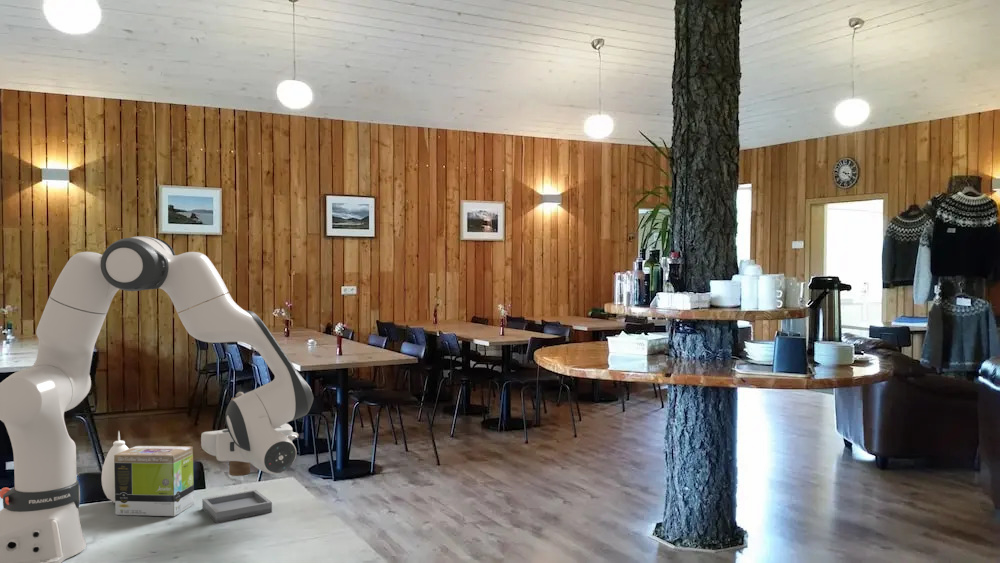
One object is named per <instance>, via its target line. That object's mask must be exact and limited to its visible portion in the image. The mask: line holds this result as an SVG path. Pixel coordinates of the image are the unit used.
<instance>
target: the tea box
mask: <svg viewBox="0 0 1000 563" xmlns="http://www.w3.org/2000/svg"><path fill="white" fill-rule="evenodd" d="M193 449H194V447H193V446H191V445H189V446H188V445H186V446H184V445H181V446H180V445H178V446H177V445H135V446H133V447H130V448H129V449H128V450H125V451H123V452H121V453H118V454H116V455H114V474H115V502H114V503H115V504H114V506H115V510H114V511H115V515H116V516H117V515H118V516H120V515H121V516H149V517H150V516H151V517H152V516H153V517H155V516H157V517H158V516H159V517H176V516H177V515H179V514H181V513H182V512H185V510H188V508H189V509H190V507H192V506H193V505H194V499H195V496H194V492H195V490H194V487H195V486H194V452H193V451H194V450H193Z"/></svg>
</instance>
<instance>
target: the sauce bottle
mask: <svg viewBox="0 0 1000 563" xmlns="http://www.w3.org/2000/svg"><path fill="white" fill-rule="evenodd" d="M112 444H113V445H112V446H111V447H110V449H109V450H108V452H107V454H106V457H105V459H104V461H103V462H104V463H103V466H102V469H101V486H102V490H103V493H104V495H105V497H106V498H107V499H108V500H111V502H113V503H115V474H114V455H116V454H118V453H121V452H123V451H125V450H128V449H130V448H129V447H128V446H127V445H126V441H125V440H121V434H120V430H118V431H117V440H115V441H113V443H112Z"/></svg>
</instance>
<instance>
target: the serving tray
mask: <svg viewBox="0 0 1000 563" xmlns="http://www.w3.org/2000/svg"><path fill="white" fill-rule="evenodd" d="M202 510H203V511H204V512H205V513H206V514H207V515H208V516H209V517H210V518H211V519H212V520H213V521H214V522H215V523H216V524H217V523H222V522H228V521H233V520H237V519H238V518H239V519H243V518H247V517H253V516H258V515H265V514H270V513H272V512H273V503H272V501H271V500H270V499H268V498H267V497H266V496H264V495H263V494H262V493H261V492H260V491H258V490H257V489H254V490H253V489H252V490H248V491H242V492H237V493H236V492H234V493H230V494H229V493H228V494H224V495H217V496H212V497H207V498H202ZM239 519H238V520H239Z"/></svg>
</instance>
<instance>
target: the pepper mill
mask: <svg viewBox="0 0 1000 563" xmlns="http://www.w3.org/2000/svg"><path fill="white" fill-rule="evenodd" d="M243 394H245V393H244V391H238V392H237V393H236V394H235V397H231V400H233V399H235V398H237V397H239V396H241V395H243ZM231 400H230V401H231ZM228 463H229V465H228V466H229V467H228V470H229V471H228V474H229V476H232V477H242V476H247V475H250V474H251V463H246V462H240V461H228Z"/></svg>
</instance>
